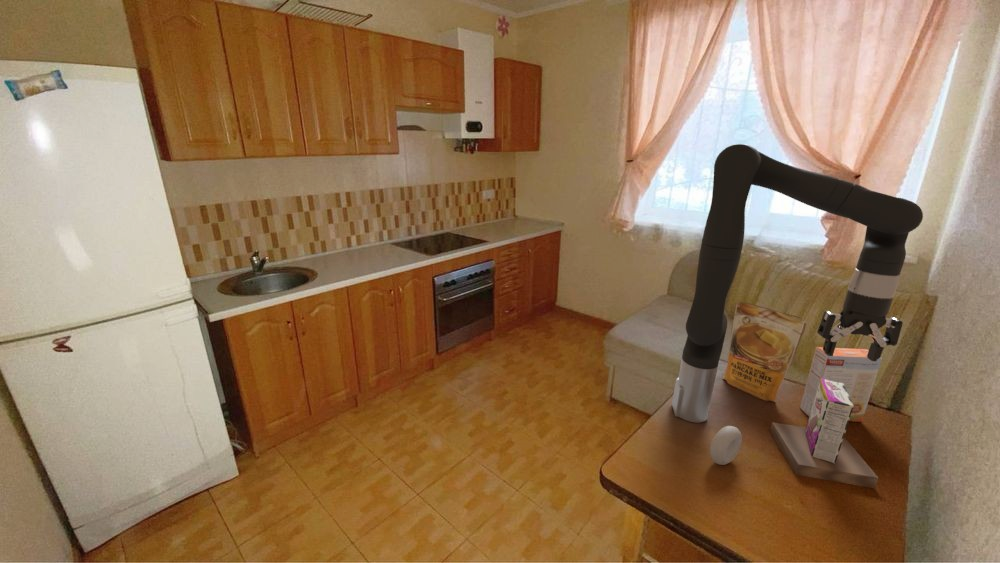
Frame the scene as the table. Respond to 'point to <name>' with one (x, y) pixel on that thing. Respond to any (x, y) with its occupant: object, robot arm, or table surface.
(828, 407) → the candy bar box
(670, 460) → the table surface
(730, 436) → the white oval stone
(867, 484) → the metal panel
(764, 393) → the pancake mix bag
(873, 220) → the robot arm
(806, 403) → the cracker box
